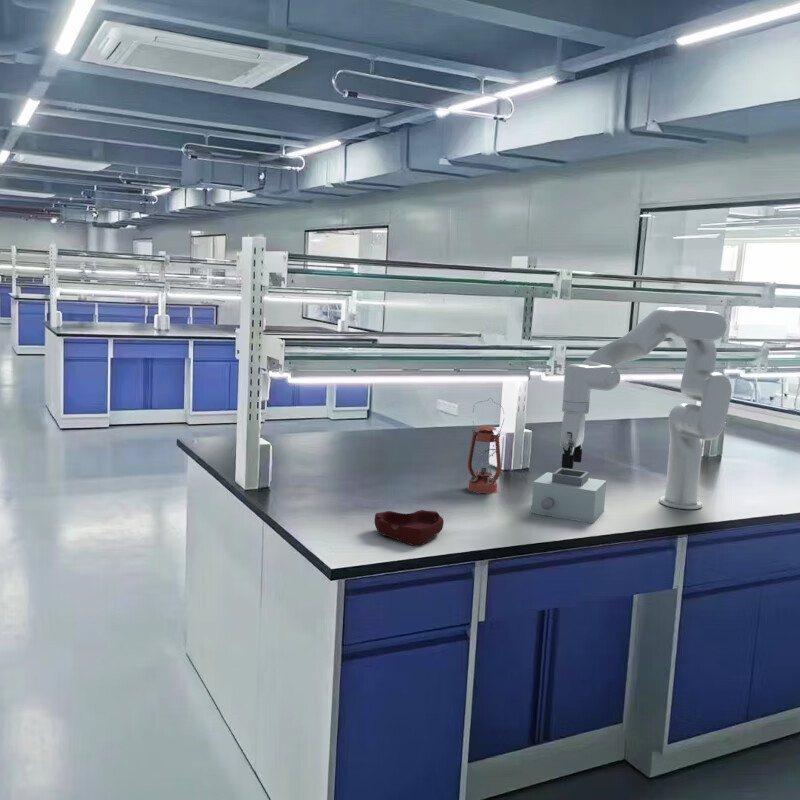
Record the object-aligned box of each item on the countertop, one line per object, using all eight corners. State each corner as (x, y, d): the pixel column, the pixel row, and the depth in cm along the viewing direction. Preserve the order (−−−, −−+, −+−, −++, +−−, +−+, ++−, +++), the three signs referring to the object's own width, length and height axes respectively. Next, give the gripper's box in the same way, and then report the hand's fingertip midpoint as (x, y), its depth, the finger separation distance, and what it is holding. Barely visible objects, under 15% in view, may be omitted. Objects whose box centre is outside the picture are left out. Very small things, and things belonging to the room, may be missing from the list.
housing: (544, 501, 240) (547, 464, 238) (603, 511, 232) (607, 472, 230) (528, 515, 225) (530, 475, 223) (590, 526, 217) (594, 484, 215)
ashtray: (383, 549, 192) (384, 530, 191) (371, 529, 208) (372, 511, 207) (453, 547, 196) (454, 527, 195) (435, 527, 212) (436, 509, 211)
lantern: (495, 486, 256) (500, 396, 251) (500, 495, 246) (506, 401, 241) (466, 485, 256) (470, 395, 251) (469, 494, 245) (474, 400, 241)
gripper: (570, 402, 234) (566, 457, 237) (554, 409, 219) (550, 468, 221) (595, 404, 231) (591, 461, 234) (581, 412, 216) (576, 472, 218)
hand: (571, 464), depth 227 cm, fingers open, 9 cm apart
